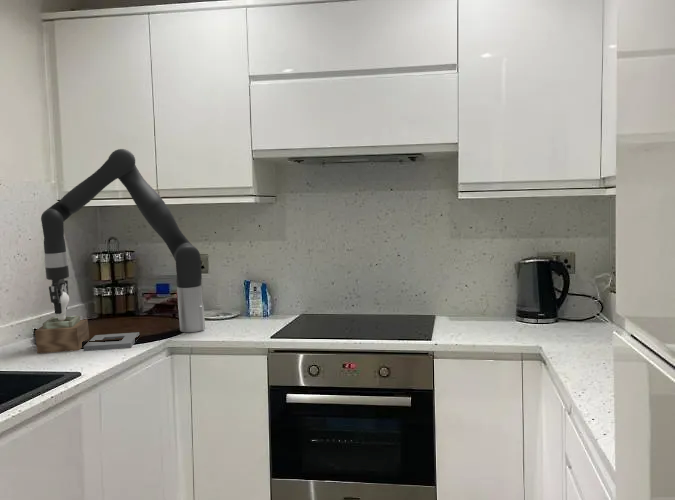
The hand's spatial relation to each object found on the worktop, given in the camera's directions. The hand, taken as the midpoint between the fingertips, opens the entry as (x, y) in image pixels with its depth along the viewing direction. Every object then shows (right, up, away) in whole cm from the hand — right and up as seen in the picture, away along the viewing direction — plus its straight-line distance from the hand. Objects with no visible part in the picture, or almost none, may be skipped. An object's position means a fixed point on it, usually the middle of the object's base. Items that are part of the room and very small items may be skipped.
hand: (61, 311), depth 233 cm
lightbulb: (0, -4, 0) cm, 4 cm away
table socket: (+17, -12, +3) cm, 21 cm away
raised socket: (0, -13, +2) cm, 13 cm away
